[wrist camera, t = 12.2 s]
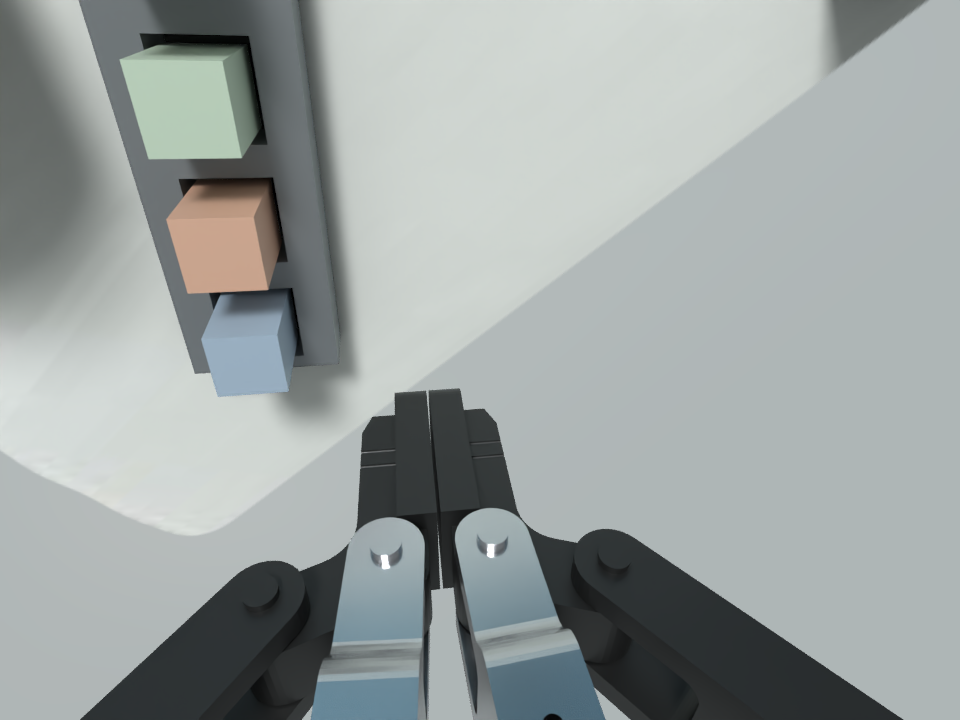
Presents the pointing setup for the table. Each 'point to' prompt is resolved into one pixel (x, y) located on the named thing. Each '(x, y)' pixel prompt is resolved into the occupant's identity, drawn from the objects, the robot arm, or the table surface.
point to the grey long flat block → (273, 153)
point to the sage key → (193, 100)
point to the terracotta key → (226, 235)
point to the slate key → (251, 342)
